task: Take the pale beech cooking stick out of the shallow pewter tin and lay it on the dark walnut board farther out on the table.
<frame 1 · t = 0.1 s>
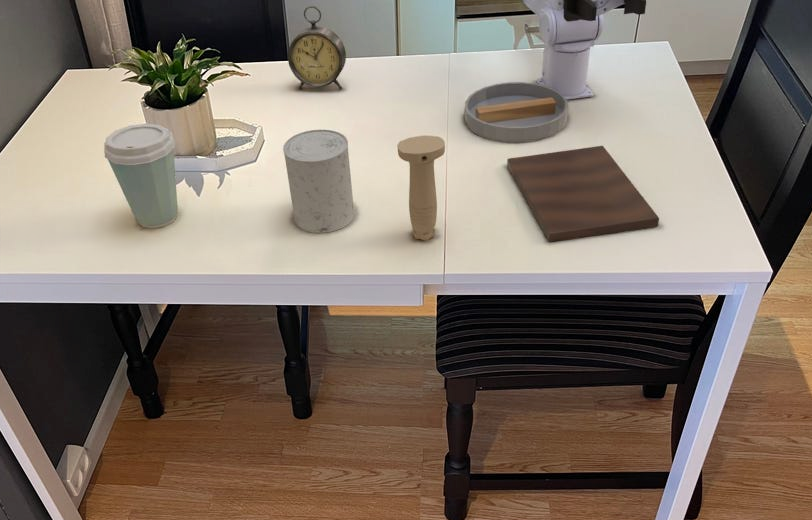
hand: (618, 10, 120), 22 cm above the table, tool horizontal, fingers open, 7 cm apart
stick: (515, 116, 142), resting on tin
board: (577, 194, 121), on the table
grey mottled cylinder: (324, 216, 123), on the table
alarm clock: (321, 88, 159), on the table
tin: (515, 118, 142), on the table
disposable coffee cup: (160, 218, 127), on the table
handle: (423, 236, 117), on the table
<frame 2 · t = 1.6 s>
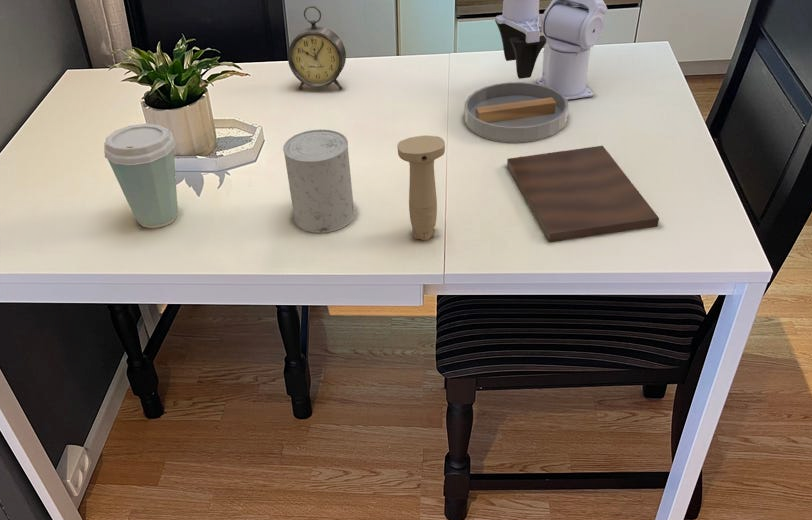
hand: (517, 68, 136), 9 cm above the table, tool pointing down, fingers open, 7 cm apart
nothing on the table moved.
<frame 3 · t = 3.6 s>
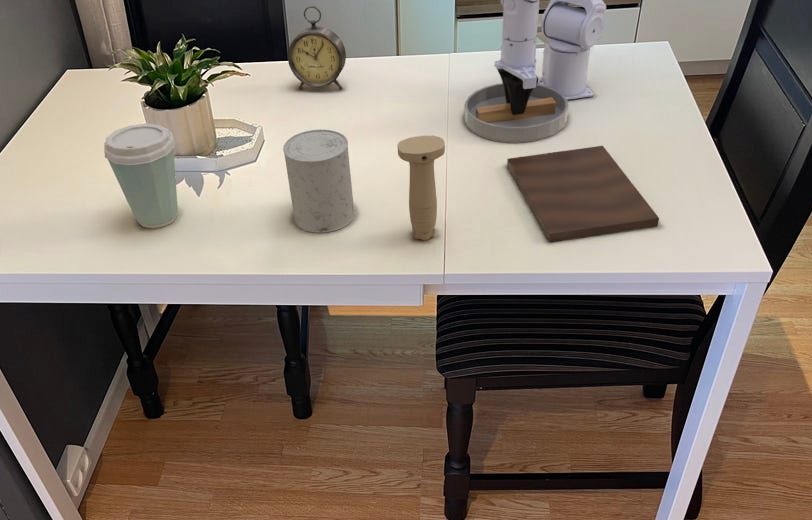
hand: (515, 110, 141), 2 cm above the table, tool pointing down, fingers closed on stick, 2 cm apart
stick: (515, 116, 142), resting on tin, touching gripper
everything else where it was.
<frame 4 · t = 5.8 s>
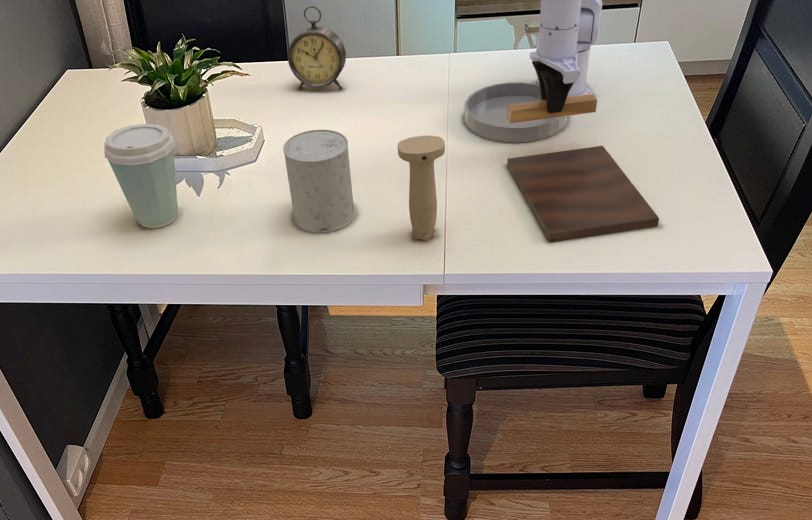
hand: (551, 107, 126), 9 cm above the table, tool pointing down, fingers closed on stick, 2 cm apart
stick: (550, 114, 127), point 7 cm above the table, touching gripper
everything else where it was.
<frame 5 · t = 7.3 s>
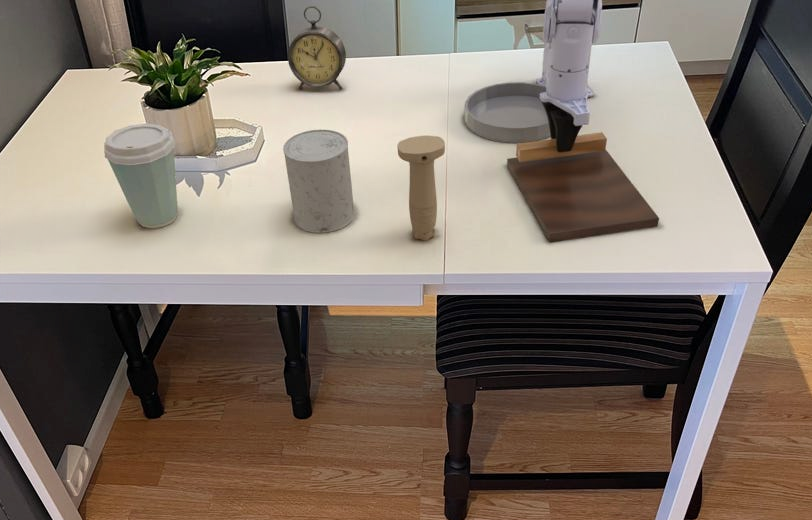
hand: (561, 146, 126), 4 cm above the table, tool pointing down, fingers closed on stick, 2 cm apart
stick: (560, 153, 126), point 3 cm above the table, touching gripper
everything else where it was.
when the fingers open (3 cm above the table, at t = 7.9 s): stick stays where it is, resting on board.
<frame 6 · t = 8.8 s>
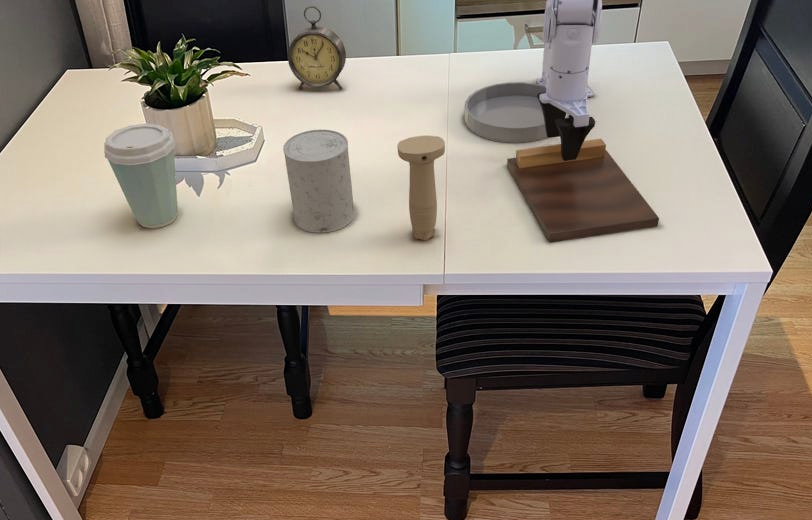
hand: (561, 147, 126), 4 cm above the table, tool pointing down, fingers open, 7 cm apart
stick: (559, 159, 127), point 1 cm above the table, touching board
everything else where it was.
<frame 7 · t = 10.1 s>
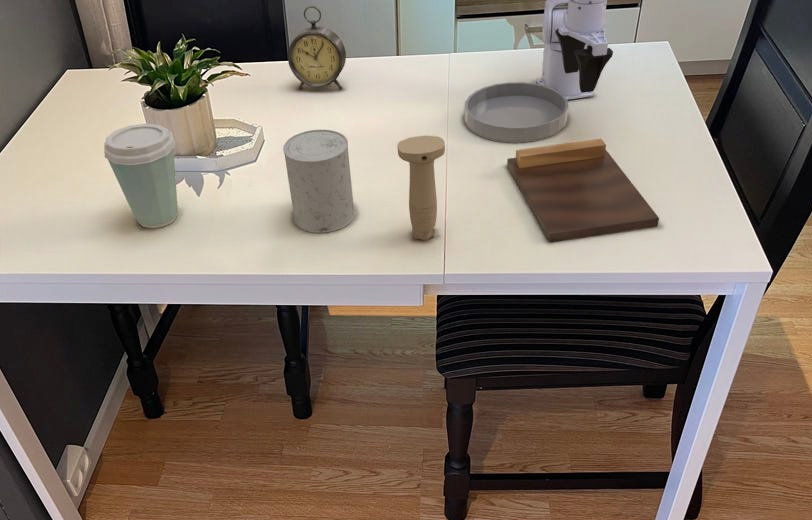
hand: (578, 81, 130), 9 cm above the table, tool pointing down, fingers open, 7 cm apart
nothing on the table moved.
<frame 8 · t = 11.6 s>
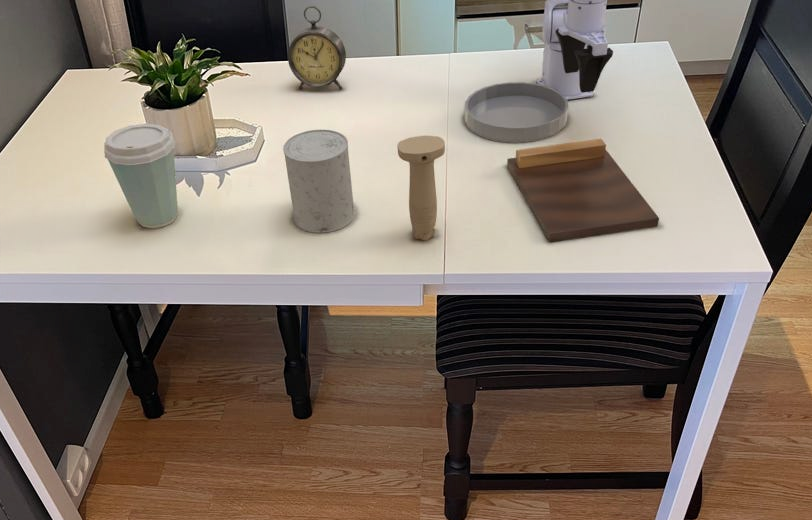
hand: (579, 81, 130), 9 cm above the table, tool pointing down, fingers open, 7 cm apart
nothing on the table moved.
at the end: stick inside the target area on the board (8.0 cm from its centre), point 1.5 cm above the board's base; the gripper is holding nothing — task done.
